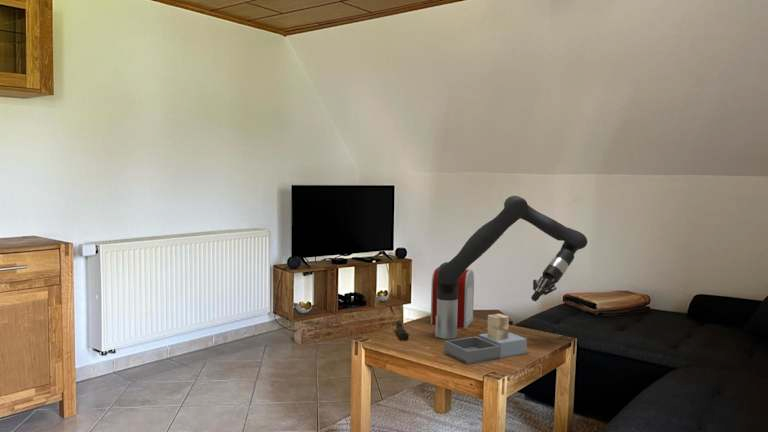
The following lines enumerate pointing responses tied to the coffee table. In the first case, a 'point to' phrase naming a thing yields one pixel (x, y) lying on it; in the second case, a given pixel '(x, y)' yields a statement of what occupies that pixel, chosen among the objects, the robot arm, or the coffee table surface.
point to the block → (498, 326)
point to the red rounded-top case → (463, 298)
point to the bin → (472, 350)
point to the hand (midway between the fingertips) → (533, 299)
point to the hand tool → (401, 331)
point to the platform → (509, 344)
